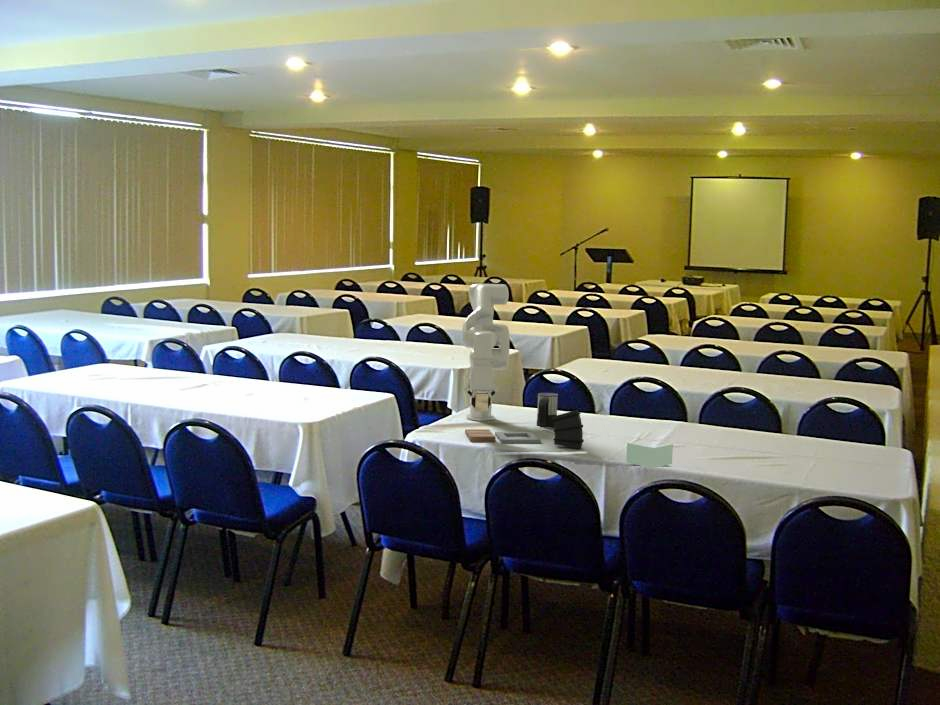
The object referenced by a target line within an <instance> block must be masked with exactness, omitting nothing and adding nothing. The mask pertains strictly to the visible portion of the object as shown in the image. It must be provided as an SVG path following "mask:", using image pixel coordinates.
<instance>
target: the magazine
mask: <svg viewBox="0 0 940 705" xmlns="http://www.w3.org/2000/svg"><path fill="white" fill-rule="evenodd" d="M551 418H552V420H551V422H553V424H554V428H553V429H554V430H553V433H554V438H552V440H553V441H554V442H553V444H554V445H555V446H556V445H557V446H560V447H566V448H570V449H574V450H575V449H576V450H581V449H582V448H583V443H584V442H585V439H583V433H584V432H583V428H584V424H582V418H581V412H579V409H575V410H573V411H569V412H568V411H567V412H564V413H562V414H557V416H554V417H551Z"/></svg>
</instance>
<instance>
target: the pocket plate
mask: <svg viewBox="0 0 940 705" xmlns="http://www.w3.org/2000/svg"><path fill="white" fill-rule="evenodd" d="M494 436H495V438H496V437H497V438H496V439H497V440H498V442H500V444H541V443H542V440H541V438H540V437H539V436H538V435H536V434H535V433H534V432H533V431H494ZM506 436H522V437H506Z"/></svg>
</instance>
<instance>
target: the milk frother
mask: <svg viewBox="0 0 940 705" xmlns="http://www.w3.org/2000/svg"><path fill="white" fill-rule="evenodd" d="M558 396H559V394H558V393H554V392H539V393H537V410H536V411H537V414H536V415H537V416H536V417H537V418H536V427H538V426H540V427H539V428H542V427H553V428H552V429H554V424H553V422H551V420H552V418H551V417H554V416H557V415H558Z"/></svg>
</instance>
